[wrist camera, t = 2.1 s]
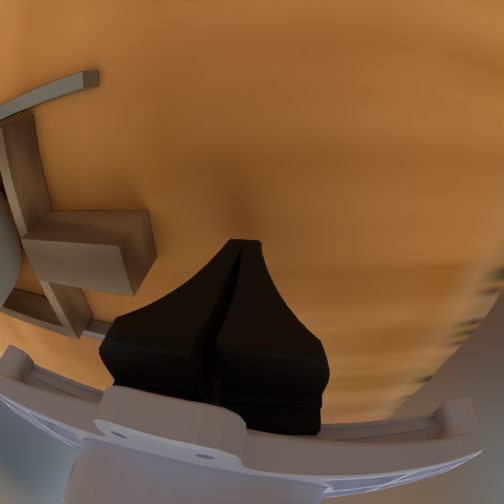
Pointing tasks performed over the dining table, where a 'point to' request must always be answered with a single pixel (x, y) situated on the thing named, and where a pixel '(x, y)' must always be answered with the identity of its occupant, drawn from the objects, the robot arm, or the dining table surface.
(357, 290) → the dining table surface
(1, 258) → the teacup
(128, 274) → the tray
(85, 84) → the shelf
